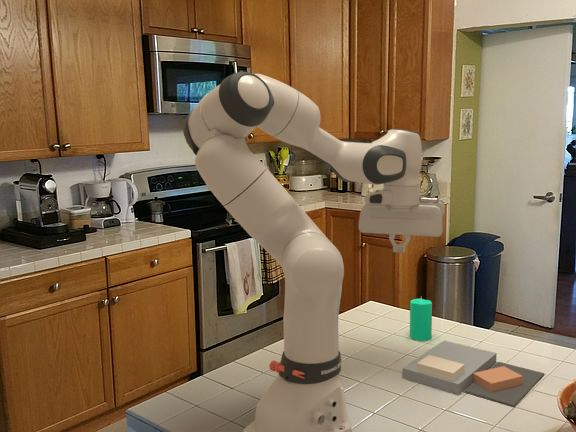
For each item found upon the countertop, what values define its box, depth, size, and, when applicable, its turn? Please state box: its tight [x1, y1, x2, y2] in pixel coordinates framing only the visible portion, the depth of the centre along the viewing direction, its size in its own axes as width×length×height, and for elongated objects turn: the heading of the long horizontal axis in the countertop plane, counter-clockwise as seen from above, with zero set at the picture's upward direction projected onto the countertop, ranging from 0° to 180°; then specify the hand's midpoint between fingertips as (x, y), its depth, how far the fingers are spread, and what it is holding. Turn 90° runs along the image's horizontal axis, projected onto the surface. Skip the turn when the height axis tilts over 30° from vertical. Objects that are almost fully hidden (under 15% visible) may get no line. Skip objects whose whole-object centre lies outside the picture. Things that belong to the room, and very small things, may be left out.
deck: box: [401, 340, 498, 396], centre depth 139 cm, size 22×14×2 cm, turn 139°
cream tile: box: [417, 355, 465, 381], centre depth 132 cm, size 9×6×2 cm, turn 49°
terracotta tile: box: [473, 366, 523, 392], centre depth 131 cm, size 9×6×2 cm, turn 112°
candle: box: [409, 297, 433, 342], centre depth 160 cm, size 6×6×12 cm
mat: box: [463, 361, 545, 408], centre depth 131 cm, size 20×11×1 cm, turn 139°
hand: (399, 252), depth 141 cm, fingers closed
